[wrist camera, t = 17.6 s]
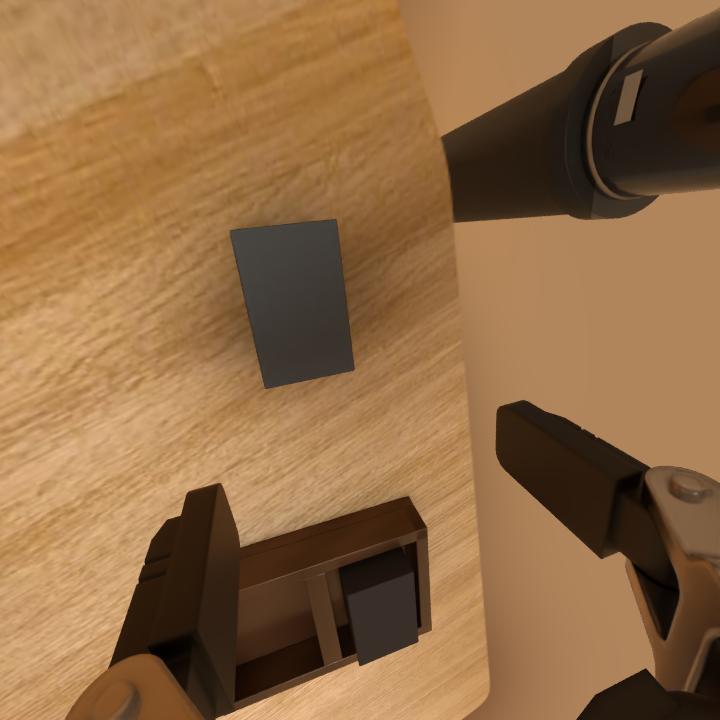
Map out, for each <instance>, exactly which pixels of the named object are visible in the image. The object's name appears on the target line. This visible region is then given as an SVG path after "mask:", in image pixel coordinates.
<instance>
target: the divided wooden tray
mask: <svg viewBox="0 0 720 720" xmlns="http://www.w3.org/2000/svg"><path fill="white" fill-rule="evenodd" d="M398 547H402V549H403V551H404V553H405V555H406V557H407V559H408V561H409V563H410V565H411V568H412V570H413V572H414V585H415V599H416V613H417V627H418V636H419V635H422V634H424V633H427V632H429V631H431V630H432V623H431V603H430V581H429V559H428V532H427V526H426V525H425V523H424V521H423V520H422V518H421V516H420V515H419V513H418V511H417V510H416V508H415V506H414V505H413V503H412V501H411V500H410V498H409V497H405V498H402V499H399V500H396V501H392V502H389V503H386V504H383V505H379V506H376V507H373V508H370V509H366V510H363V511H360V512H357V513H353V514H350V515H347V516H344V517H341V518H337V519H334V520H331V521H328V522H324V523H321V524H318V525H315V526H311V527H308V528H305V529H302V530H298V531H295V532H292V533H289V534H285V535H282V536H279V537H276V538H272V539H269V540H266V541H263V542H259V543H256V544H253V545H250V546H247V547H243V548H240V575H239V599H238V624H237V649H236V673H235V698H234V711H232V712H235V711H237V710H239V709H242V708H244V707H246V706H249V705H251V704H254V703H256V702H259V701H261V700H264V699H266V698H268V697H271V696H273V695H276V694H278V693H281V692H283V691H285V690H288V689H290V688H293V687H295V686H298V685H300V684H302V683H305V682H307V681H310V680H312V679H315V678H317V677H320V676H322V675H324V674H327V673H329V672H332V671H334V670H337V669H339V668H341V667H344V666H346V665H349V664H351V663H354V662H356V661H358V658H357V654H356V650H355V646H354V642H353V638H352V634H351V630H350V626H349V622H348V618H347V613H346V608H345V602H344V597H343V591H342V586H341V580H340V575H339V569H338V568H339V567H342V566H345V565H348V564H351V563H354V562H357V561H360V560H363V559H366V558H368V557H371V556H374V555H377V554H380V553H383V552H386V551H389V550H392V549H395V548H398ZM232 712H230V713H232ZM230 713H227V714H230ZM227 714H225V715H227ZM225 715H224V716H225Z"/></svg>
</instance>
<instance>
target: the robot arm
mask: <svg viewBox="0 0 720 720" xmlns="http://www.w3.org/2000/svg"><path fill="white" fill-rule="evenodd" d="M581 154H582V161H583V165H584V169H585V172H586V175H587V177H588V179H589V181H590V183H591V184H592V185H593V187H594V188H595V189H596V190H597V191H598V192H599V193H600V194H601V195H603V196H605V197H607V198H609V199H613V200H629V199H637V198H640V197H643V196H653V195H663V194H672V193H685V192H695V191H704V190H714V189H720V8H718V9H716V10H714V11H712V12H710V13H708V14H706V15H704V16H702V17H700V18H697V19H695V20H693V21H691V22H689V23H687V24H685V25H683V26H681V27H679V28H677V29H675V30H673V31H671V32H669V33H667V34H665V35H663V36H661V37H659V38H657V39H655V40H652V41H648V42H645V43H643V44H641V45H639V46H637V47H635V48H633V49H631V50H629V51H627V52H625V53H623V54H622V55H621V56H619V57H618V58H617V59H616V60H615V61H614V62H613V63H612V64H611V65H610V66H609V67H608V68H607V69H606V70H605V72H604V73H603V75H602V76H601V77H600V79H599V81H598V82H597V84H596V86H595V88H594V90H593V92H592V94H591V97H590V99H589V102H588V104H587V107H586V111H585V115H584V119H583V124H582V131H581ZM496 455H497V458H498V460H499V462H500V464H501V466H502V467H503V468H504V469H505V471H506V472H508V473H509V474H510V475H511V476H512V477H513V478H514V479H515V480H516V481H517V482H518V483H519V484H521V485H522V486H523V487H524V488H525V489H526V490H527V491H528V492H529V493H530V494H531V495H532V496H533V497H535V498H536V499H537V500H538V501H539V502H540V503H541V504H542V505H543V506H544V507H545V508H546V509H548V510H549V511H550V512H551V513H552V514H553V515H554V516H555V517H556V518H557V519H558V520H559V521H561V522H562V523H563V524H564V525H565V526H566V527H567V528H568V529H569V530H570V531H571V532H572V533H573V534H575V535H576V536H577V537H578V538H579V539H580V540H581V541H582V542H583V543H584V544H585V545H586V546H588V547H589V548H590V549H591V550H592V551H593V552H594V553H595V554H596V555H597V556H598V557H599V558H601V559H603V558H605V557H608V556H610V555H613V554H615V553H617V552H621V553H622V554H623V555H625V556H626V557H627V558H626V562H625V568H626V572H627V575H628V578H629V581H630V584H631V587H632V590H633V593H634V596H635V599H636V602H637V605H638V608H639V611H640V614H641V617H642V620H643V623H644V626H645V629H646V632H647V635H648V638H649V641H650V644H651V647H652V651H653V655H654V660H655V678H654V677H653V676H652V675H651V673H650V672H649V671H648V670H647V669H644V670H642V671H640V672H638V673H636V674H634V675H632V676H630V677H628V678H626V679H625V680H623V681H621V682H619V683H617V684H615V685H613V686H611V687H609V688H607V689H605V690H604V691H602V692H600V693H598V694H596V695H595V696H594V697H593V699H592V700H591V701H590V702H589V704H588V705H587V706H586V708H585V709H584V710H583V712H582V713H581V714H580V716H579V717H578V718H577V720H720V483H718V482H717V481H715V480H713V479H712V478H710V477H708V476H706V475H703V474H701V473H698V472H696V471H692V470H689V469H685V468H681V467H674V466H658V467H654V468H650V467H649V466H647V465H645V464H643V463H641V462H640V461H638V460H637V459H635V458H633V457H631V456H630V455H628V454H626V453H625V452H623V451H621V450H619V449H618V448H616V447H614V446H612V445H611V444H609V443H607V442H606V441H604V440H602V439H600V438H596V437H595V435H593V434H592V433H590V432H588V431H587V430H585V429H583V430H582V429H581V427H580V426H578V425H576V424H574V423H573V422H571V421H569V420H568V419H566V418H564V417H561V416H558V415H555V414H552V413H548V412H545V411H543V410H542V409H540V408H538V407H537V406H535V405H533V404H532V403H529V402H528V401H525V400H521V401H518V402H514V403H510V404H507V405H503V406H500V407H499V408H498V410H497V419H496ZM239 575H240V542H239V535H238V531H237V527H236V524H235V521H234V518H233V515H232V512H231V509H230V506H229V503H228V500H227V497H226V494H225V491H224V488H223V486H222V484H221V483H217V484H214V485H210V486H207V487H203V488H199V489H196V490H192V491H189V492H188V493H187V495H186V498H185V502H184V506H183V510H182V514H181V516H178V517H175V518H171V519H168V520H166V522H165V523H164V524H163V526H162V527H161V528H160V530H159V531H158V532H157V534H156V535H155V536H154V538H153V539H152V540H151V543H150V546H149V549H148V552H147V555H146V558H145V565H144V566H143V567H142V570H141V573H140V576H139V579H138V580H139V584H137V585H136V588H135V591H134V594H133V597H132V600H131V603H130V606H129V609H128V612H127V615H126V618H125V621H124V624H123V627H122V630H121V633H120V636H119V639H118V642H117V645H116V648H115V651H114V654H113V657H112V660H111V662H110V665H109V667H108V669H107V670H106V671H105V672H104V673H102V674H101V675H100V676H99V677H98V678H97V679H95V680H94V681H93V682H92V683H91V684H90V685H89V686H88V688H87V689H86V690H85V691H84V692H83V693H82V694H81V696H80V697H79V698H78V700H77V701H76V702H75V704H74V705H73V706H72V708H71V710H70V711H69V713H68V715H67V716H66V718H65V720H215V718H218V717H220V716H223V715H225V714H227V713H230V712H232V711H234V698H235V673H236V649H237V624H238V599H239Z"/></svg>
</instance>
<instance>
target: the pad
mask: <svg viewBox="0 0 720 720" xmlns="http://www.w3.org/2000/svg"><path fill="white" fill-rule="evenodd" d="M230 236H231V240H232V245H233V249H234V254H235V258H236V262H237V267H238V271H239V276H240V280H241V285H242V289H243V293H244V298H245V302H246V307H247V311H248V316H249V320H250V325H251V329H252V333H253V338H254V342H255V347H256V351H257V356H258V360H259V364H260V369H261V373H262V378H263V382H264V387H265V389H268V388H273V387H278V386H283V385H287V384H292V383H297V382H302V381H306V380H311V379H316V378H321V377H325V376H330V375H335V374H340V373H344V372H349V371H354V361H353V352H352V344H351V335H350V327H349V319H348V310H347V302H346V293H345V285H344V277H343V268H342V260H341V251H340V243H339V235H338V226H337V220H336V219H331V220H322V221H312V222H303V223H293V224H284V225H274V226H265V227H255V228H246V229H236V230H230Z"/></svg>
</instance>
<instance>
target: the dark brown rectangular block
mask: <svg viewBox="0 0 720 720" xmlns="http://www.w3.org/2000/svg"><path fill="white" fill-rule="evenodd" d="M338 569H339V575H340V580H341V586H342V591H343V597H344V602H345V608H346V613H347V618H348V622H349V626H350V630H351V634H352V638H353V642H354V646H355V650H356V654H357V658H358V662H359V666H362V665H364V664H367V663H369V662H372V661H374V660H376V659H379V658H381V657H384V656H386V655H388V654H391V653H393V652H396V651H398V650H400V649H403V648H405V647H408V646H410V645H412V644H415V643H417V642H418V627H417V613H416V599H415V585H414V572H413V570H412V568H411V565H410V563H409V561H408V559H407V557H406V555H405V553H404V551H403V549H402V547H398V548H395V549H392V550H389V551H386V552H383V553H380V554H377V555H374V556H371V557H368V558H366V559H363V560H360V561H357V562H354V563H351V564H348V565H345V566H342V567H339V568H338Z"/></svg>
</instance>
